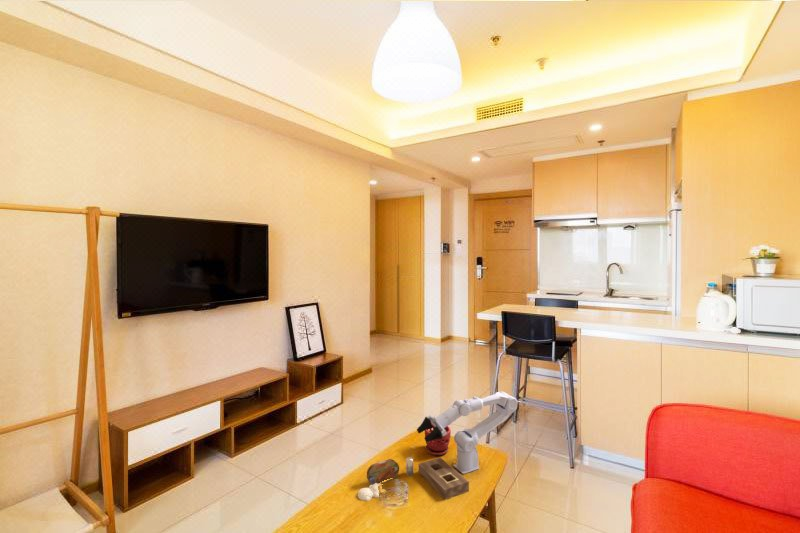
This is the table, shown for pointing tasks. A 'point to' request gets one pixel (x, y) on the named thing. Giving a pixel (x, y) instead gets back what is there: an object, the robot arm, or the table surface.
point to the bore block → (443, 478)
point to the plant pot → (438, 442)
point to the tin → (382, 471)
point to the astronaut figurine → (369, 492)
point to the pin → (409, 466)
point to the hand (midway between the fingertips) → (421, 435)
